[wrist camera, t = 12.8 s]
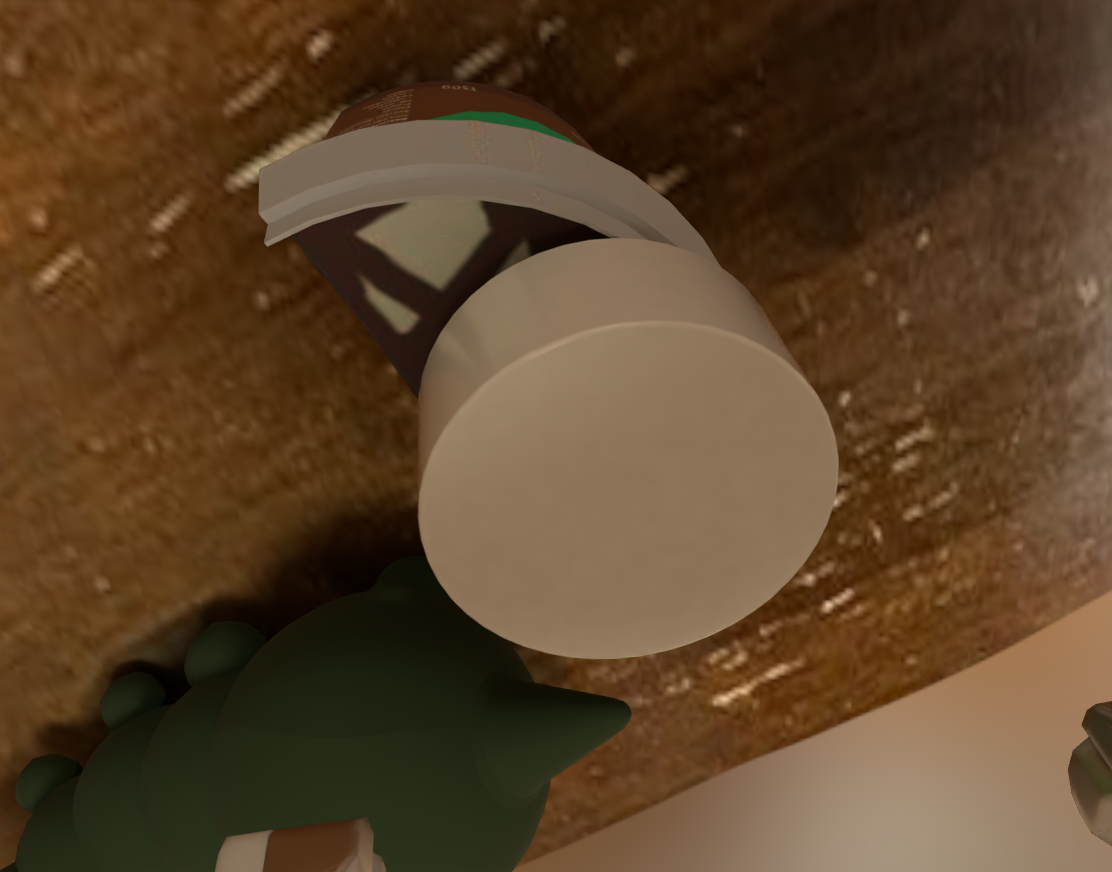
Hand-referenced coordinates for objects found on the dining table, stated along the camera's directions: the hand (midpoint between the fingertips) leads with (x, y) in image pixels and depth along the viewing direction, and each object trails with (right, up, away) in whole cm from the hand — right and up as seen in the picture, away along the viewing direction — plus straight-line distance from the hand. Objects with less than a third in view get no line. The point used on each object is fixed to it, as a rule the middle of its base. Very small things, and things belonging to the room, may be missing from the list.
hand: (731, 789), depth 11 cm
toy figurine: (-12, -4, +23) cm, 27 cm away
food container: (-2, +10, +15) cm, 18 cm away
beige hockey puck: (-1, +4, +7) cm, 8 cm away
